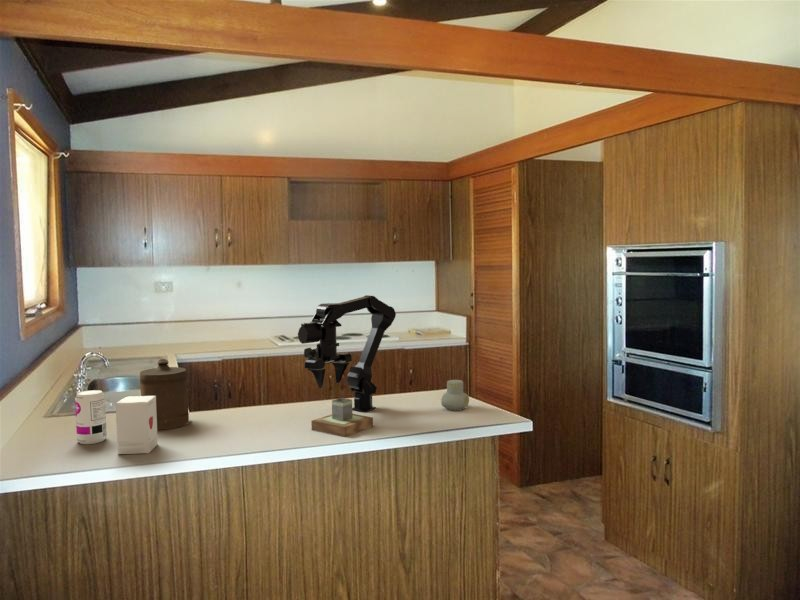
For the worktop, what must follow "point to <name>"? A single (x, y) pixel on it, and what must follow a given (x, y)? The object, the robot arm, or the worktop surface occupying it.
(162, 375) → the wooden container
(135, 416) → the supplement box
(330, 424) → the platform
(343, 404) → the grey box
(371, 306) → the robot arm
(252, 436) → the worktop surface
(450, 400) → the air freshener
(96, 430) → the supplement can
